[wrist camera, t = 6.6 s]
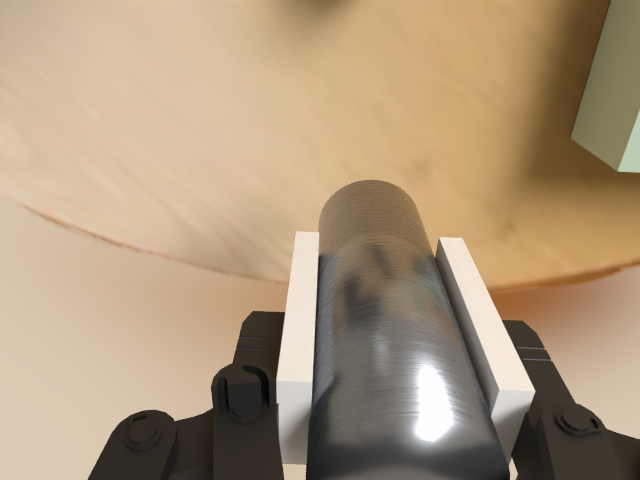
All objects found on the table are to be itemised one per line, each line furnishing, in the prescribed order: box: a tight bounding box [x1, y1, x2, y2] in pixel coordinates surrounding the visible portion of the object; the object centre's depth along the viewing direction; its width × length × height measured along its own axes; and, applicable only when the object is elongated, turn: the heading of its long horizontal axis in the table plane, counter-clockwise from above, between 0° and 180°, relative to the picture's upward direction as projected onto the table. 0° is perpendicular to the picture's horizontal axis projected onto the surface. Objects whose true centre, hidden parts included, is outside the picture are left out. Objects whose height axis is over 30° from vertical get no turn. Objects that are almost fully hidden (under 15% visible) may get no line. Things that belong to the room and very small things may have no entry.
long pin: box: [306, 180, 510, 480], centre depth 14 cm, size 4×4×11 cm
